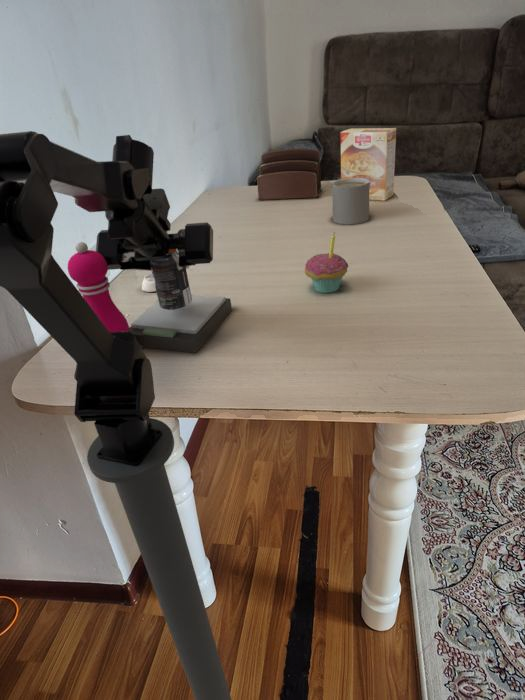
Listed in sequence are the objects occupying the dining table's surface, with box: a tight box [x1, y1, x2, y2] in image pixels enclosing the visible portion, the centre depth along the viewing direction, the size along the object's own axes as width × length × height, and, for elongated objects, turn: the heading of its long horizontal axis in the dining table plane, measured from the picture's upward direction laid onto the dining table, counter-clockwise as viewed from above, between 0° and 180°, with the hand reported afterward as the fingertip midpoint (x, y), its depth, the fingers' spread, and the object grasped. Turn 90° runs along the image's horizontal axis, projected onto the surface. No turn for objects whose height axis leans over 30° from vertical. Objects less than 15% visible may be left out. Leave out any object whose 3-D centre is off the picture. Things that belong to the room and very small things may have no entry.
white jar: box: [141, 273, 156, 293], centre depth 106 cm, size 5×3×5 cm
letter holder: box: [256, 147, 322, 201], centre depth 159 cm, size 10×20×14 cm, turn 77°
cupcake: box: [304, 231, 349, 294], centre depth 95 cm, size 9×8×12 cm
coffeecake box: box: [340, 127, 397, 202], centre depth 147 cm, size 15×7×20 cm, turn 55°
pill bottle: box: [150, 249, 192, 310], centre depth 85 cm, size 6×6×11 cm
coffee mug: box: [331, 178, 370, 225], centre depth 134 cm, size 13×10×10 cm
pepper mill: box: [67, 241, 130, 332], centre depth 79 cm, size 7×7×20 cm
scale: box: [129, 294, 233, 354], centre depth 90 cm, size 16×14×3 cm
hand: (170, 267), depth 85 cm, fingers closed on pill bottle, 6 cm apart
